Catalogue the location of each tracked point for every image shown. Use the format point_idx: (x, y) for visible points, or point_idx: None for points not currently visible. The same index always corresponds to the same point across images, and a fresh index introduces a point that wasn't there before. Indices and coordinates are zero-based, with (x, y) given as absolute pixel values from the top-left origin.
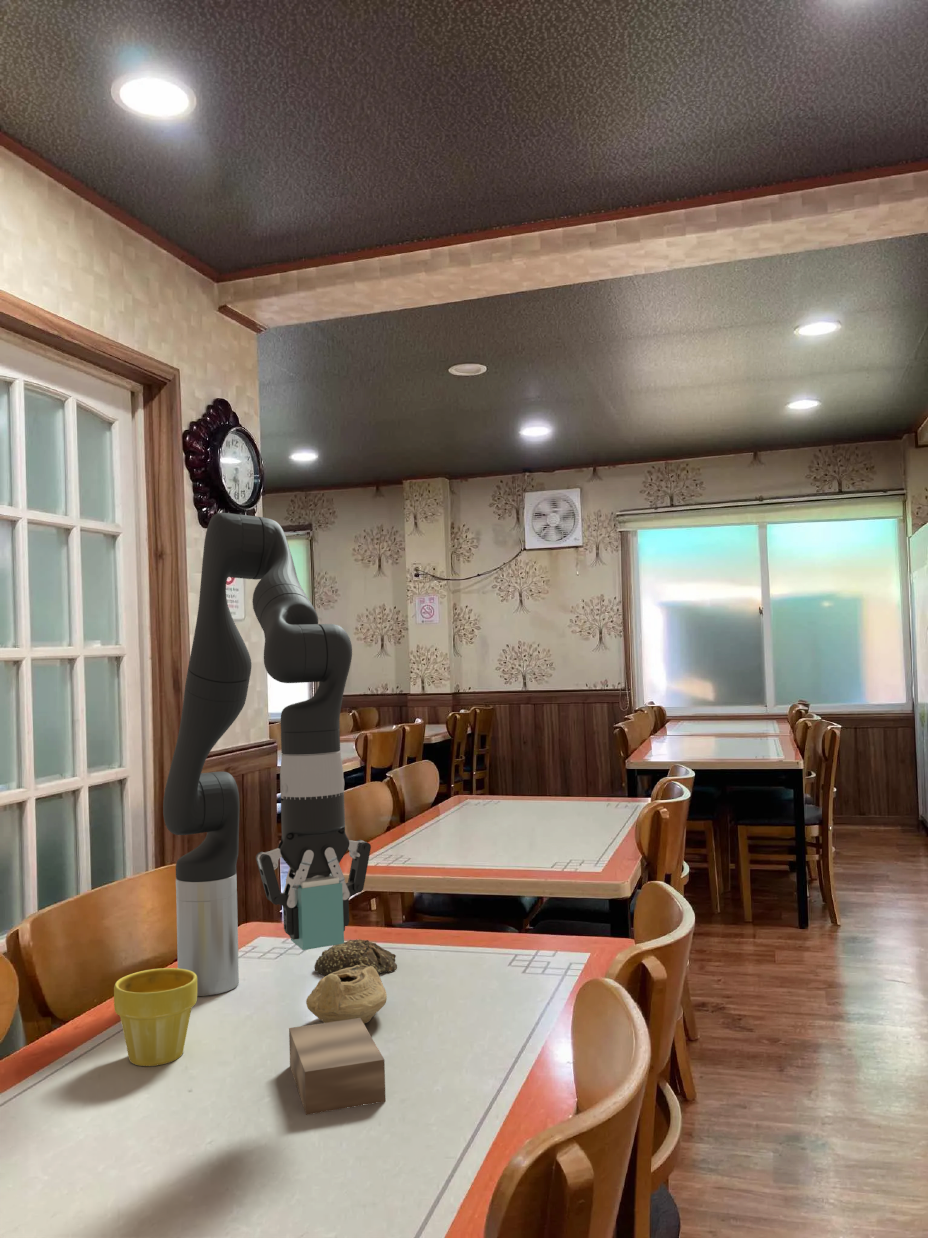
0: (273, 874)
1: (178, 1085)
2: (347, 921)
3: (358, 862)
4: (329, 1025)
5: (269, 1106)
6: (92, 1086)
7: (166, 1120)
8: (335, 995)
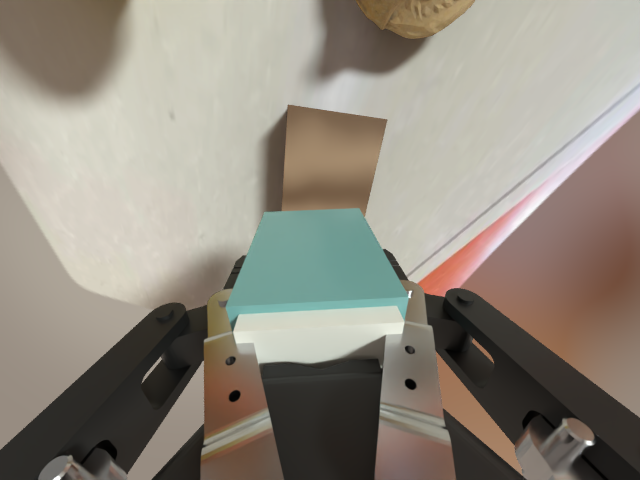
0: (127, 462)
1: (154, 91)
2: None
3: (508, 436)
4: (340, 126)
5: (254, 196)
6: (26, 24)
7: (156, 180)
8: (390, 10)
